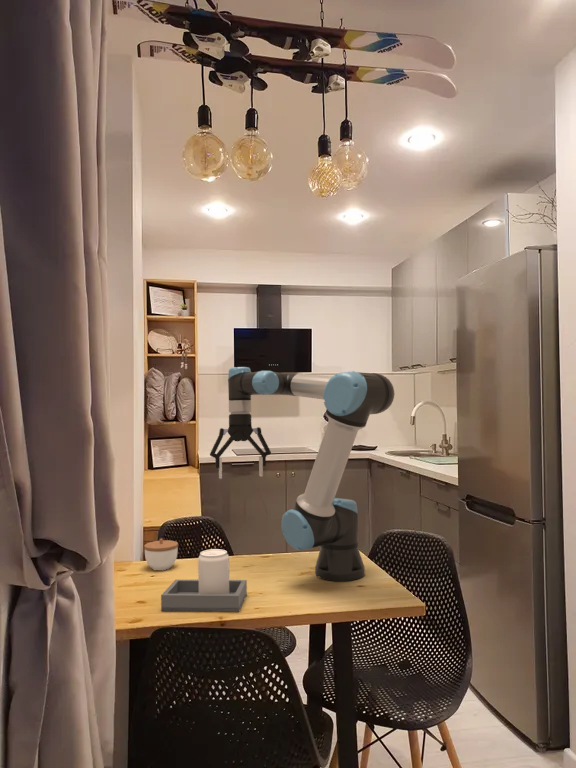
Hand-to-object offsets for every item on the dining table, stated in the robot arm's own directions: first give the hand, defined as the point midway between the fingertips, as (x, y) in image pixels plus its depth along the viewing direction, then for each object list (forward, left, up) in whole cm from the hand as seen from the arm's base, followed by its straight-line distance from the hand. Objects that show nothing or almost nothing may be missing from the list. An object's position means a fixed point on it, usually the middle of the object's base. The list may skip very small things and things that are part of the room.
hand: (240, 477), depth 182 cm
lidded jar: (+26, +4, -29) cm, 39 cm away
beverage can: (+2, +35, -28) cm, 45 cm away
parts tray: (+4, +36, -29) cm, 46 cm away
